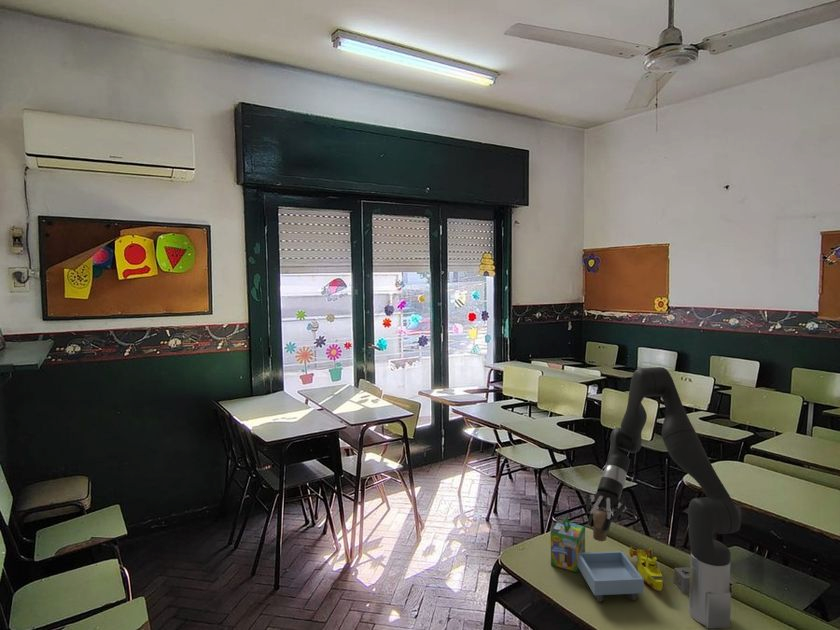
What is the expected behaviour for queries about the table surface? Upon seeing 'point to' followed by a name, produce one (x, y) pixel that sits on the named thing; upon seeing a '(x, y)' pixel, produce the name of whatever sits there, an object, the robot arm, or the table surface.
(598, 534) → the cylinder
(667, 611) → the table surface
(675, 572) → the grey cube with hole
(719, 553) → the robot arm
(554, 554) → the chalk box
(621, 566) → the wheeled cart
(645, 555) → the yellow toy submarine
